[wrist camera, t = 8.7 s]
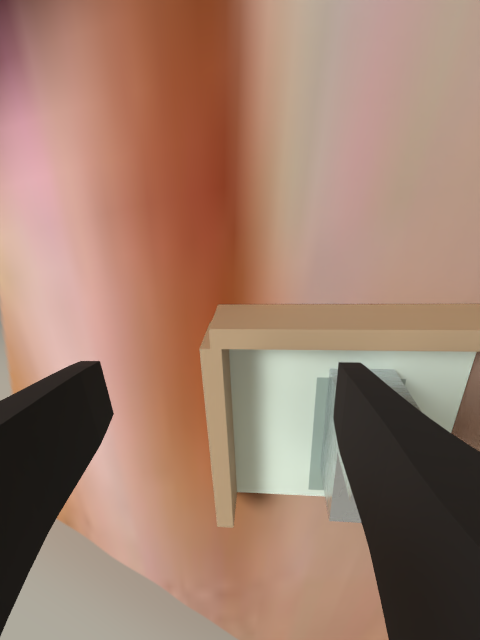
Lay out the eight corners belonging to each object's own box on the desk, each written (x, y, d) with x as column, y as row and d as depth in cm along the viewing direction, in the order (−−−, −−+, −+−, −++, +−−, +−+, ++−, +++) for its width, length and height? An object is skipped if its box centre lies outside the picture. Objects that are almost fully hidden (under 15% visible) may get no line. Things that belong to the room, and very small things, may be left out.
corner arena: (494, 303, 18) (541, 330, 15) (434, 494, 25) (458, 541, 22) (208, 304, 20) (197, 329, 17) (223, 484, 27) (217, 526, 23)
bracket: (374, 471, 24) (413, 579, 17) (320, 469, 24) (338, 573, 18) (394, 369, 20) (452, 459, 14) (329, 368, 20) (357, 455, 14)
